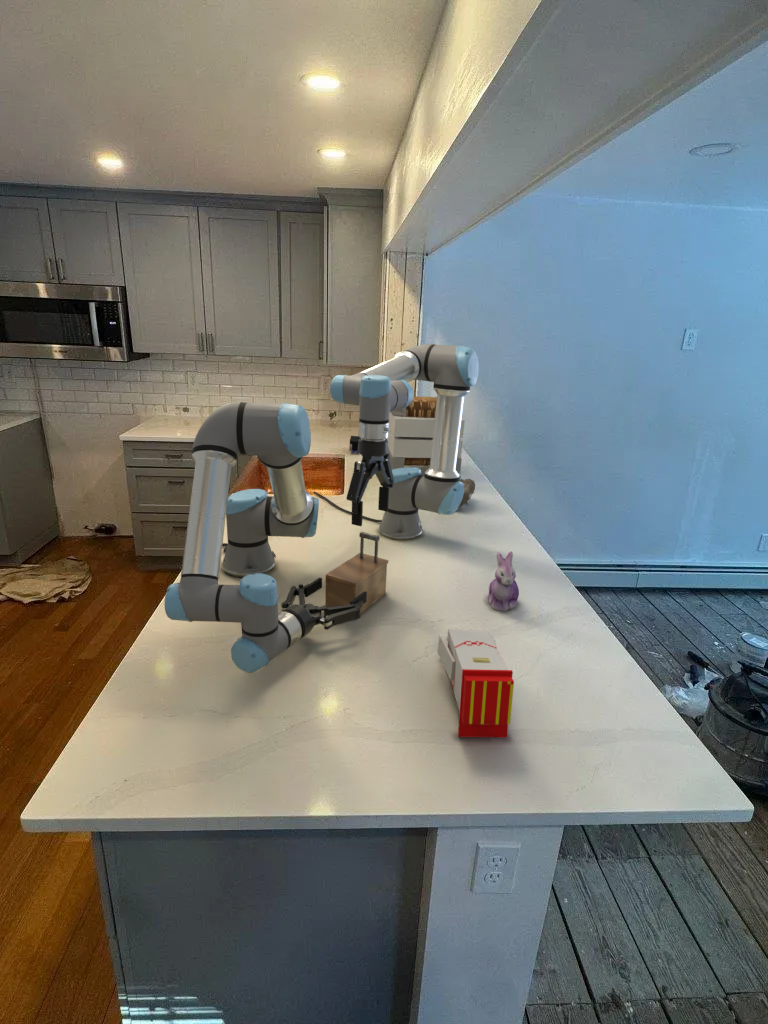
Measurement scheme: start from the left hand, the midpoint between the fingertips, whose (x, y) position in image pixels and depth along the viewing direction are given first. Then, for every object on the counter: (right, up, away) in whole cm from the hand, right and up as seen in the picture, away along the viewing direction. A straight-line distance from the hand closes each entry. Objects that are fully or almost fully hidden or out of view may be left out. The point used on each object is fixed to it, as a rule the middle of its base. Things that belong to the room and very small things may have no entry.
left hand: (342, 589), depth 145 cm
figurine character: (-5, +53, +165) cm, 174 cm away
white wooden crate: (+28, +38, +130) cm, 139 cm away
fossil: (+41, +23, +89) cm, 101 cm away
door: (+4, +4, +6) cm, 8 cm away
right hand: (+7, +18, +5) cm, 20 cm away
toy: (+28, -18, -26) cm, 43 cm away
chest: (+3, -4, +8) cm, 10 cm away
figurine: (+43, -5, +10) cm, 45 cm away
